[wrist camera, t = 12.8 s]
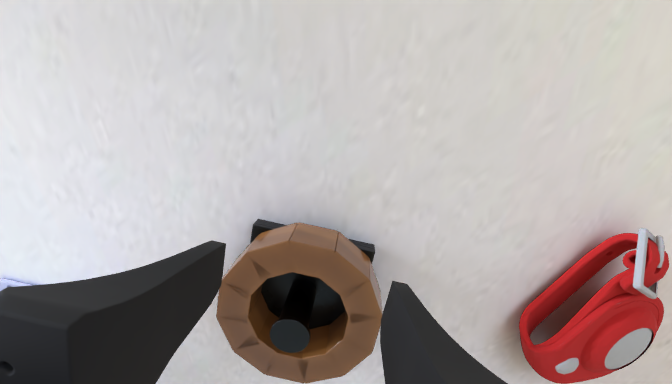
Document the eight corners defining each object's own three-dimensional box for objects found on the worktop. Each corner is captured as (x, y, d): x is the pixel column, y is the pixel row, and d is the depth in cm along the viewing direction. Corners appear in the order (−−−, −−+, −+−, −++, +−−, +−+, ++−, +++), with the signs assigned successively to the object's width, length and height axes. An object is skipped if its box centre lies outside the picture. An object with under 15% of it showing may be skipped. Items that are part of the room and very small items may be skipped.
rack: (244, 315, 27) (212, 375, 21) (258, 218, 24) (225, 257, 18) (349, 339, 27) (345, 406, 21) (374, 244, 24) (378, 291, 18)
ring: (227, 333, 26) (210, 362, 23) (242, 209, 23) (225, 226, 20) (359, 363, 26) (359, 396, 23) (394, 243, 23) (399, 264, 20)
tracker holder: (679, 358, 24) (561, 421, 23) (617, 314, 27) (516, 366, 27) (708, 234, 18) (553, 314, 17) (626, 201, 22) (497, 265, 21)
